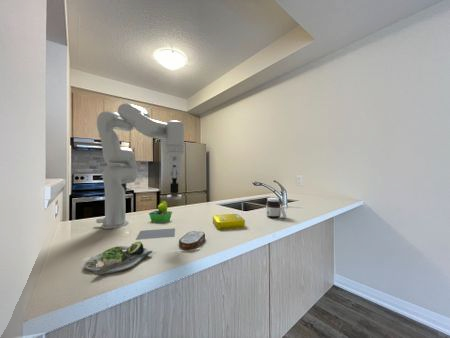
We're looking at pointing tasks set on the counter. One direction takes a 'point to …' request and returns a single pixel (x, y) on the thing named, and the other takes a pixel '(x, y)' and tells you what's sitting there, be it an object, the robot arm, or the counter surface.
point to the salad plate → (117, 258)
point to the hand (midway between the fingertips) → (174, 191)
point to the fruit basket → (161, 213)
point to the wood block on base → (173, 196)
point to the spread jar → (274, 208)
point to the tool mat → (156, 233)
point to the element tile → (228, 221)
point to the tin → (192, 240)
